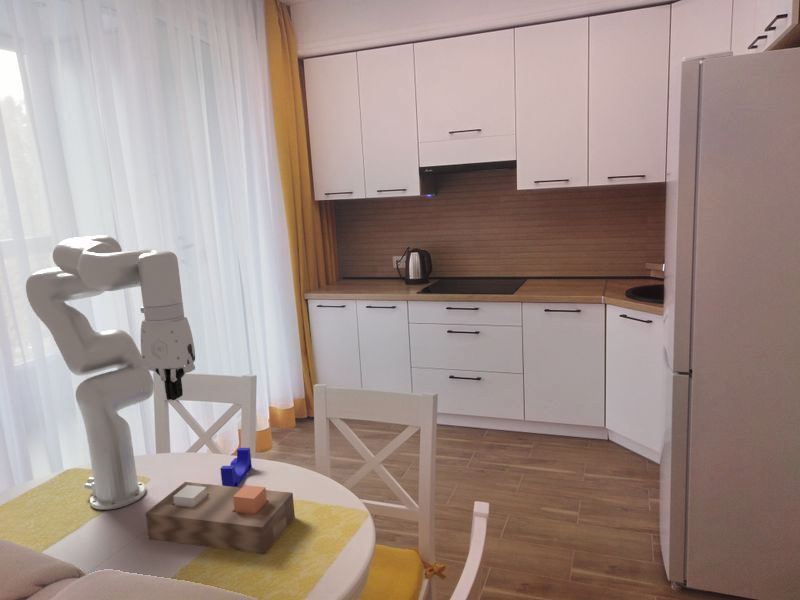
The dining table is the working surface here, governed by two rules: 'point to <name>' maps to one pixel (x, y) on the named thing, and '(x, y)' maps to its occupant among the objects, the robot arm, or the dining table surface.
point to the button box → (221, 520)
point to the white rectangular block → (190, 496)
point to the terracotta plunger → (250, 499)
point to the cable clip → (237, 468)
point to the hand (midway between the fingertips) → (174, 397)
